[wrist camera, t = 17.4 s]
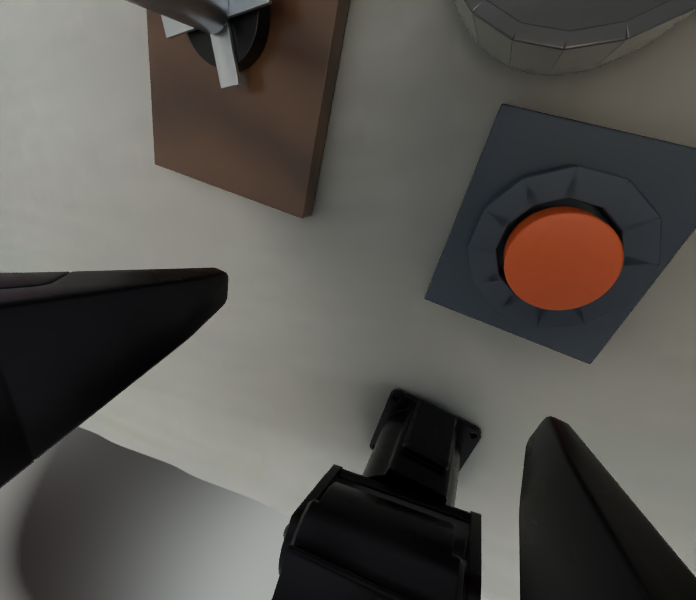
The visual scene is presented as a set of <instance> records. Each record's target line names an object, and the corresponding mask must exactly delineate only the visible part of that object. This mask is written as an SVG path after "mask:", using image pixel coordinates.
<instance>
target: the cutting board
mask: <svg viewBox="0 0 696 600" xmlns="http://www.w3.org/2000/svg"><path fill="white" fill-rule="evenodd" d="M271 1H272V4H270V29H269V35H268V39H267V42H266V45H265V47H264V50H263V52H262V54H261V55H260V57H259V58H258V59H257V61H256V62H255V63H254V64H253V65H251V66H250V67H249V68H247V69H245V70H242V71H239V75H240V80H241V85H239V86H234V87H230V88H226V89H222V88H221V85H220V80H219V76H218V71H217V67H215V66H212V65H210V64H209V63H207V62H206V61H205V60H204V59H202V58H201V56H200V55H199V54H198V53H197V52H196V50H195V49H194V47H193V45H192V44H191V42H190V40H189V37H188V35H187V33H186V34H183V35H180V36H177V37H175V38H172V39H168V38H167V37H166V34H165V29H164V25H163V21H162V17H161V14H158V13H156V12H153V11H151V10H148V9H147V25H148V43H149V62H150V80H151V99H152V117H153V136H154V154H155V164H156V165H159V166H161V167H164V168H167V169H170V170H172V171H175V172H178V173H180V174H183V175H186V176H189V177H191V178H194V179H197V180H199V181H202V182H205V183H207V184H210V185H213V186H216V187H218V188H221V189H224V190H226V191H229V192H232V193H235V194H237V195H240V196H243V197H245V198H248V199H251V200H254V201H256V202H259V203H262V204H264V205H267V206H270V207H273V208H275V209H278V210H281V211H283V212H286V213H289V214H292V215H294V216H297V217H300V218H306V217H308V216H311V215H312V211H313V205H314V200H315V194H316V188H317V183H318V177H319V171H320V166H321V160H322V155H323V149H324V143H325V138H326V132H327V127H328V121H329V115H330V110H331V104H332V99H333V93H334V87H335V82H336V76H337V70H338V65H339V59H340V54H341V48H342V42H343V37H344V31H345V26H346V20H347V14H348V9H349V3H350V0H271Z"/></svg>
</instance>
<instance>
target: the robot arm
mask: <svg viewBox="0 0 696 600" xmlns="http://www.w3.org/2000/svg"><path fill="white" fill-rule="evenodd" d="M227 294H228V275H227V273H226V272H224V271H222V270H219V269H217V268H183V269H148V270H112V271H76V272H71V273H70V272H32V273H0V488H1V487H2V486H4V485H5V484H6V483H8V482H9V481H10V480H11V479H13V478H14V477H15V476H16V475H18V474H19V473H20V472H21V471H23V470H24V469H25V468H26V467H28V466H29V465H30V464H31V463H33V462H34V460H35V459H37V458H39V457H40V456H41V455H42V454H44V453H45V452H46V451H48V450H49V449H50V448H51V447H53V446H54V445H55V444H56V443H57V442H59V441H60V440H61V439H63V438H64V437H65V436H66V435H68V434H69V433H70V432H71V431H73V430H74V429H75V428H76V427H78V426H79V425H80V424H82V423H83V422H84V421H85V420H87V419H88V418H89V417H91V416H92V415H93V414H94V413H96V412H97V411H98V410H99V409H101V408H102V407H103V406H104V405H106V404H107V403H108V402H109V401H111V400H112V399H113V398H115V397H116V396H117V395H118V394H120V393H121V392H122V391H123V390H125V389H126V388H127V387H128V386H130V385H131V384H132V383H133V382H135V381H136V380H137V379H139V378H140V377H141V376H142V375H144V374H145V373H146V372H147V371H149V370H150V369H151V368H152V367H154V366H155V365H156V364H157V363H159V362H160V361H161V360H163V359H164V358H165V357H166V356H168V355H169V354H170V353H171V352H173V351H174V350H175V349H176V348H178V347H179V346H180V345H181V344H183V343H184V342H185V341H186V340H188V339H189V338H190V337H191V336H192V335H193V334H194V333H195V332H196V331H197V330H198V329H199V328H200V327H201V326H202V325H204V324H205V323H206V322H207V321H208V320H209V319H210V318H211V317H212V316H213V315H214V314H215V313H216V312H217V311H218V310H219V309H220V308H221V307H222V306H223V305H224V304H225V302H226V300H227ZM395 395H396V396H398V397H399V398H397V397H395ZM471 432H473V433H475V434H471ZM480 438H481V430H480V429H479V428H478V427H477V426H475V425H472V424H470V423H468V422H466V421H464V420H462V419H460V418H458V417H456V416H453V415H451V414H449V413H447V412H445V411H443V410H441V409H439V408H437V407H435V406H432V405H430V404H428V403H426V402H424V401H422V400H420V399H418V398H416V397H413V396H411V395H409V394H407V393H405V392H403V391H401V390H398V389H394V390H392V392H391V394H390V396H389V399H388V401H387V404H386V406H385V408H384V411H383V413H382V416H381V418H380V421H379V423H378V426H377V428H376V431H375V433H374V436H373V438H372V440H371V443H370V448H371V449H372V450H373V451H372V454H371V456H370V458H369V461H368V463H367V465H366V468H365V470H364V473H363V475H359V474H356V473H353V472H350V471H347V470H345V469H343V467H341V466H338V465H335V464H334V465H333V466H332V468H331V469H330V470H329V471H328V472H327V474H325V475H324V477H323V478H322V479H321V480H320V481H319V483H318V484H317V485H316V486H315V488H314V489H313V490H312V491H311V492H310V494H309V495H308V496H307V497H306V499H305V500H304V501H303V502H302V503H301V505H300V506H299V507H298V508H297V510H296V511H295V512H294V513H293V515H292V517H291V519H290V523H289V524H288V525H287V526H286V528H285V531H284V535H283V536H284V542H283V545H282V549H281V554H280V559H279V575H280V576H279V579H278V582H277V586H276V589H275V592H274V595H273V598H272V600H481V514H478V513H475V512H472V511H471V512H467V511H464V510H461V509H458V508H455V507H454V505H455V497H456V490H457V482H458V474H459V471H460V469H461V468H462V466H463V465H464V463H465V462H466V460H467V459H468V457H469V456H470V454H471V452H472V451H473V449H474V448H475V446H476V445H477V443H478V442H479V440H480ZM519 542H520V600H696V577H695V576H694V575H693V574H692V572H691V571H690V570H689V569H688V567H687V566H686V565H685V564H684V563H683V561H682V560H681V559H680V558H679V557H678V555H677V554H676V553H675V552H674V551H673V549H672V548H671V547H670V546H669V545H668V543H667V542H666V541H665V540H664V539H663V537H662V536H661V535H660V534H659V533H658V531H657V530H656V529H655V528H654V527H653V525H652V524H651V523H650V522H649V521H648V519H647V518H646V517H645V516H644V514H643V513H642V512H641V511H640V510H639V508H638V507H637V506H636V505H635V504H634V502H633V501H632V500H631V499H630V498H629V496H628V495H627V494H626V493H625V492H624V490H623V489H622V488H621V487H620V486H619V484H618V483H617V482H616V481H615V480H614V478H613V477H612V476H611V475H610V474H609V472H608V471H607V470H606V469H605V468H604V466H603V465H602V464H601V463H600V461H599V460H598V459H597V458H596V457H595V455H594V454H593V453H592V452H591V451H590V449H589V448H588V447H587V446H586V445H585V443H584V442H583V441H582V440H581V439H580V437H579V436H578V435H577V434H576V433H575V431H574V430H573V429H572V428H571V427H570V425H569V424H567V423H565V422H563V421H561V420H558V419H556V418H554V417H551V416H549V417H546V418H545V419H544V420H543V421H542V422H541V424H540V425H539V426H538V428H537V429H536V430H535V432H534V433H533V434H532V435H531V437H530V438H529V440H528V442H527V445H526V451H525V460H524V469H523V478H522V487H521V496H520V508H519Z"/></svg>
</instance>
